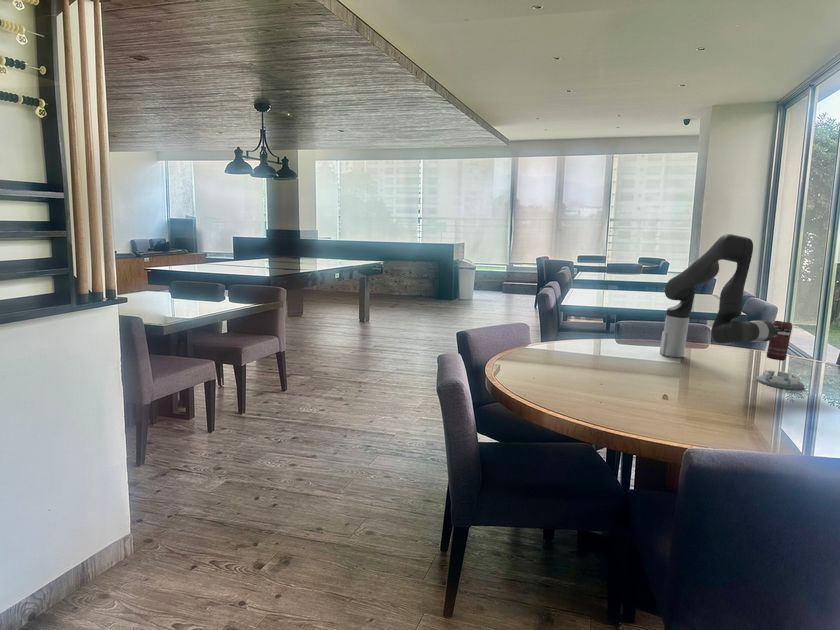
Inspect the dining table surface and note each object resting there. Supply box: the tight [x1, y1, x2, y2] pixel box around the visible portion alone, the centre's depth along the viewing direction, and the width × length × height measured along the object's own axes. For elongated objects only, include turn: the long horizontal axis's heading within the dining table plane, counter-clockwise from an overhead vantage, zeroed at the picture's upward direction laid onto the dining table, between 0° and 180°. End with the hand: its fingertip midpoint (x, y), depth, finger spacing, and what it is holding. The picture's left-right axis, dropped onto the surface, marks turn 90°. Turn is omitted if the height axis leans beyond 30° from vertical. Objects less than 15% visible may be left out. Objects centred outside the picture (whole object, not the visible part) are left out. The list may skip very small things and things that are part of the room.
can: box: [766, 320, 793, 362], centre depth 212 cm, size 6×6×14 cm
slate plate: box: [756, 374, 805, 391], centre depth 213 cm, size 15×15×1 cm
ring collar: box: [762, 369, 801, 386], centre depth 213 cm, size 11×11×2 cm
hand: (786, 329), depth 213 cm, fingers closed
